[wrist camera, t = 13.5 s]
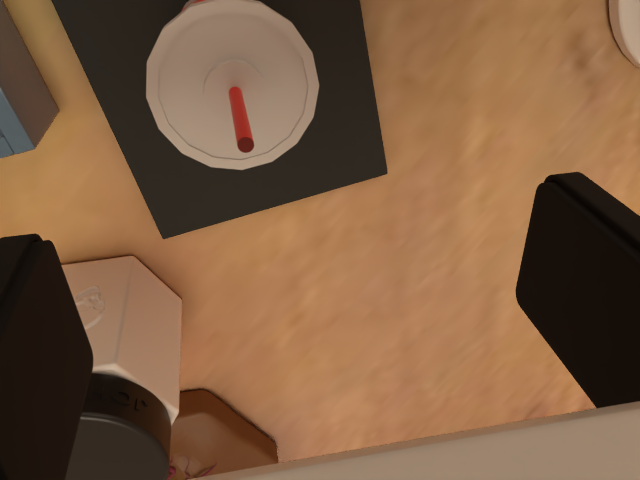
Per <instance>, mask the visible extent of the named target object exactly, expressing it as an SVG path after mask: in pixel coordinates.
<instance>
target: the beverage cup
mask: <svg viewBox="0 0 640 480" xmlns="http://www.w3.org/2000/svg"><path fill="white" fill-rule="evenodd" d="M318 90H319V82H318V77H317V72H316V67H315V63H314V58H313V53H312V51H311V50H310V49H309V47H308V46H307V44H306V43H305V41H304V40H303V38H302V37H301V35H300V34H299V32H298V31H297V29H296V28H295V26H294V25H293V24H292V22H290V21H289V20H288V19H286V18H285V17H283V16H282V15H280V14H278V13H277V12H275V11H274V10H272V9H271V8H269V7H268V6H266V5H265V4H263V3H262V2H260V1H255V0H189V1H188V2H187V3H186V4H185V6H184V7H183V9H182V11H181V13H180V14H178V15H177V16H176V17H175V18H173V19H172V20H171V21H170V22H169V23H167V24H166V25H165V26H164V27H163V29H162V31H161V33H160V35H159V37H158V39H157V41H156V44H155V46H154V48H153V50H152V52H151V54H150V56H149V58H148V60H147V78H146V98H147V101H148V103H149V106H150V108H151V111H152V113H153V116H154V118H155V121H156V123H157V126H158V128H159V130H160V131H161V132H162V133H163V134H164V135H165V136H166V137H167V138H168V139H169V140H170V141H171V142H172V143H173V144H174V146H175V147H176V148H177V149H178V150H179V151H180V152H181V153H182V154H185V155H187V156H189V157H191V158H193V159H195V160H197V161H199V162H201V163H203V164H206V165H208V166H210V167H215V168H226V169H238V170H244V169H248V168H251V167H255V166H258V165H262V164H266V163H269V162H273V161H274V160H275V159H277V158H278V157H279V156H281V155H282V154H283V153H285V152H286V151H287V150H289V149H290V148H292V147H293V146H294V145H296V144H297V143H298V141H299V140H300V138H301V136H302V135H303V133H304V132H305V130H306V128H307V127H308V125H309V124H310V122H311V120H312V119H313V117H314V112H315V107H316V101H317V96H318Z"/></svg>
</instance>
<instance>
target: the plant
mask: <svg viewBox="0 0 640 480" xmlns="http://www.w3.org/2000/svg"><path fill="white" fill-rule="evenodd" d="M277 463H278V456H277V448H276V446H275V444H274V443H273V441H272V440H270V439H269V438H268V437H266V436H265V435H263V434H262V433H261V432H259V431H258V430H257V429H256V428H254V427H253V426H252V425H250V424H249V423H248V422H246V421H245V420H243V419H242V418H241V417H239V416H238V415H237V414H235V413H234V412H233V411H232V410H231V409H230V408H229V407H228V406H226V405H225V404H224V403H223V402H221V401H220V400H219V399H218V398H216V397H215V396H214V395H212V394H211V393H210V392H208V391H205V390H196V391H187V392H182V393H180V398H179V413H178V415H177V417H176V419H175V421H174V423H173V425H172V426H171V444H170V466H169V474H168V477H167V480H187V479H193V478H198V477H204V476H210V475H215V474H221V473H226V472H232V471H238V470H243V469H249V468H254V467H260V466H266V465H271V464H277Z"/></svg>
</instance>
